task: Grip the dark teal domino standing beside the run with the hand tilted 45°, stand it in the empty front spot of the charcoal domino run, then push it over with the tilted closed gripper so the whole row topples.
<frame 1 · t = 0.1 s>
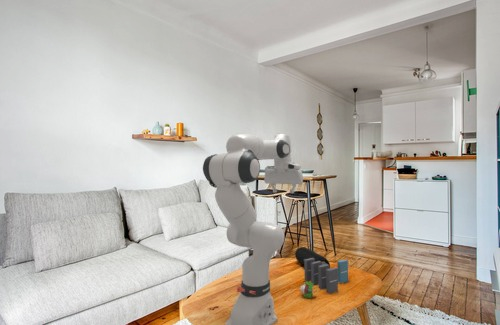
hand: (283, 192, 144), 48 cm above the table, tool pointing down, fingers open, 8 cm apart
coffee box: (257, 281, 152), on the table
domino 2: (332, 291, 138), on the table
domino 4: (316, 283, 147), on the table
domino 5: (310, 279, 152), on the table
geometric puzzle: (308, 296, 133), on the table
domino 3: (324, 287, 142), on the table
portable speaker: (311, 268, 168), on the table
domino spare: (343, 281, 148), on the table
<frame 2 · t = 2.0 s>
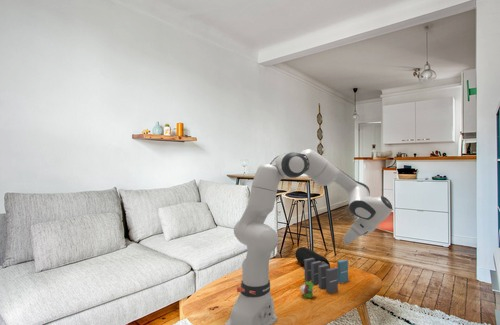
hand: (349, 240, 143), 23 cm above the table, tool tilted 45°, fingers open, 8 cm apart
nothing on the table moved.
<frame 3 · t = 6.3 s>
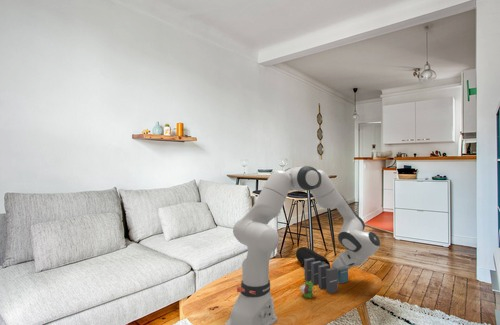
hand: (341, 269, 149), 6 cm above the table, tool tilted 45°, fingers closed on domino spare, 6 cm apart
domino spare: (343, 281, 148), on the table, touching gripper
everything else where it was.
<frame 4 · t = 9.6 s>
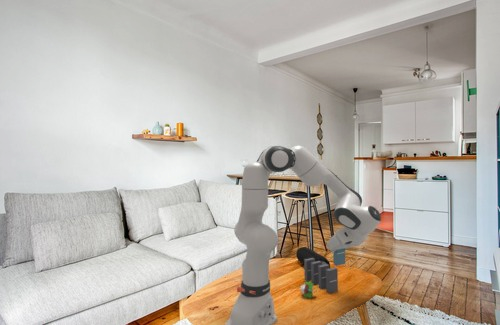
hand: (338, 250, 135), 21 cm above the table, tool tilted 45°, fingers closed on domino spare, 6 cm apart
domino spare: (339, 264, 134), point 14 cm above the table, touching gripper
everything else where it was.
when the fingers open (8 cm above the table, at t = 12.9 s): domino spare drops 2 cm, on the table.
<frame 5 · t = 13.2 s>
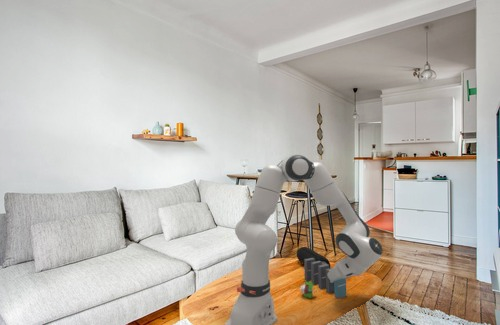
hand: (339, 278, 133), 8 cm above the table, tool tilted 45°, fingers open, 8 cm apart
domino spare: (340, 296, 133), on the table
everything else where it was.
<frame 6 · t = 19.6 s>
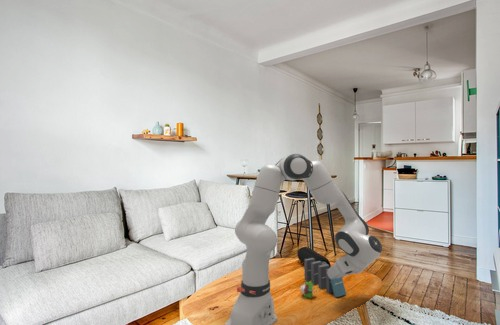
hand: (338, 276, 133), 9 cm above the table, tool tilted 45°, fingers closed
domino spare: (340, 295, 133), on the table, tilted 19°
everything else where it was.
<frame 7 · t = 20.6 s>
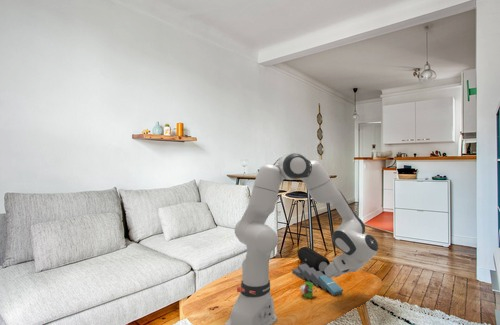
hand: (336, 275, 135), 9 cm above the table, tool tilted 45°, fingers closed
domino 2: (329, 288, 139), point 1 cm above the table, tilted 68°, touching domino 3, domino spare
domino 4: (313, 279, 149), point 1 cm above the table, tilted 68°, touching domino 3, domino 5
domino 5: (308, 277, 153), point 1 cm above the table, tilted 90°, touching domino 4
domino 3: (321, 284, 144), point 1 cm above the table, tilted 68°, touching domino 2, domino 4
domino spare: (338, 292, 134), point 1 cm above the table, tilted 69°, touching domino 2
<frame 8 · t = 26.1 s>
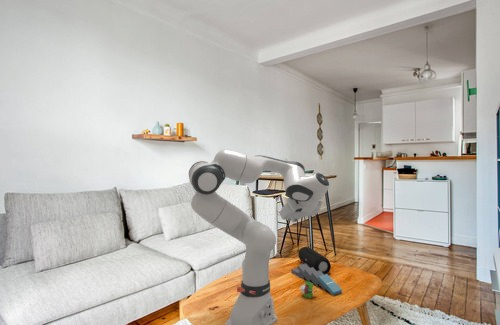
hand: (293, 220, 136), 35 cm above the table, tool tilted 45°, fingers closed
domino 4: (313, 279, 149), point 1 cm above the table, tilted 69°, touching domino 3
domino 5: (307, 276, 154), point 1 cm above the table, tilted 90°
at the end: domino 5 tilted 90°; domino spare 5.6 cm from the domino 2 (horizontally); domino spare tilted 69° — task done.
